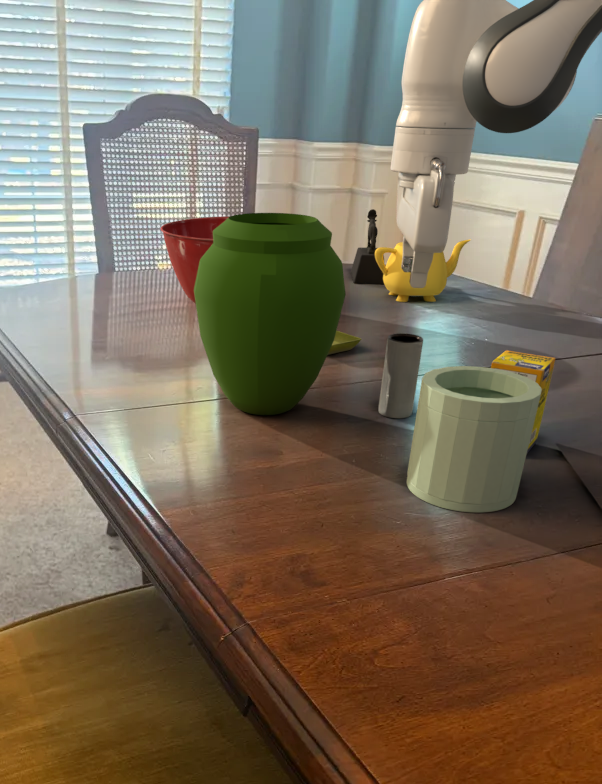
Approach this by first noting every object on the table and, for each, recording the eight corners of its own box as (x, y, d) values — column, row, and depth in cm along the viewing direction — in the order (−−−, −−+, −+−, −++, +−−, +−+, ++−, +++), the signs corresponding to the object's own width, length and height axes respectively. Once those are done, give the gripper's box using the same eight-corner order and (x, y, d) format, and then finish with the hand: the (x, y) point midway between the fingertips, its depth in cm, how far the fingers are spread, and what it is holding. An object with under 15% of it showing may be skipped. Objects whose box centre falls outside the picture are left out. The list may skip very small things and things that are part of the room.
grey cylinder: (414, 410, 106) (426, 335, 101) (408, 420, 103) (419, 344, 97) (382, 405, 108) (391, 331, 103) (374, 415, 104) (384, 339, 99)
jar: (503, 469, 89) (526, 368, 83) (527, 516, 79) (555, 405, 73) (401, 463, 90) (416, 363, 85) (412, 509, 81) (430, 399, 75)
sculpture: (383, 273, 189) (391, 207, 182) (386, 284, 178) (394, 214, 170) (350, 272, 190) (357, 206, 183) (351, 283, 179) (358, 213, 171)
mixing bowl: (249, 331, 142) (253, 242, 134) (133, 308, 157) (130, 227, 149) (324, 303, 161) (331, 224, 154) (214, 285, 176) (216, 212, 168)
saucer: (323, 359, 127) (324, 346, 126) (289, 346, 133) (290, 334, 132) (361, 350, 131) (363, 338, 130) (327, 339, 137) (328, 327, 136)
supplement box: (536, 443, 96) (557, 356, 91) (524, 459, 92) (545, 369, 86) (488, 432, 99) (505, 348, 94) (474, 447, 95) (491, 360, 89)
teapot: (471, 304, 161) (482, 241, 155) (377, 304, 161) (384, 241, 154) (450, 290, 173) (460, 231, 167) (362, 290, 172) (369, 231, 166)
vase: (362, 407, 107) (384, 219, 95) (270, 444, 95) (282, 235, 83) (257, 375, 119) (265, 205, 107) (164, 405, 107) (161, 217, 95)
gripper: (475, 162, 80) (451, 298, 87) (445, 151, 98) (427, 264, 105) (413, 161, 81) (394, 296, 88) (395, 149, 98) (380, 262, 105)
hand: (412, 278), depth 96 cm, fingers open, 8 cm apart
